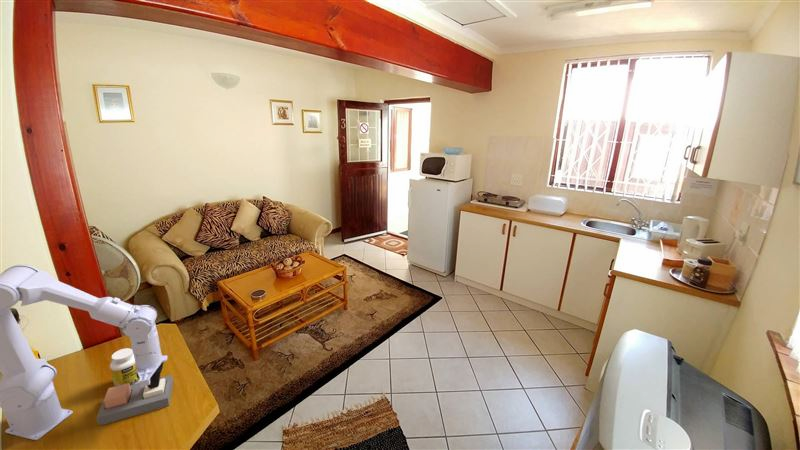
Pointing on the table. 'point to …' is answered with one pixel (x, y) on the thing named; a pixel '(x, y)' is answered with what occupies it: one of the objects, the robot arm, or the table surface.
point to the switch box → (136, 403)
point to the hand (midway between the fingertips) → (154, 386)
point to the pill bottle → (123, 367)
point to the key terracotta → (117, 396)
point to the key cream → (155, 390)
